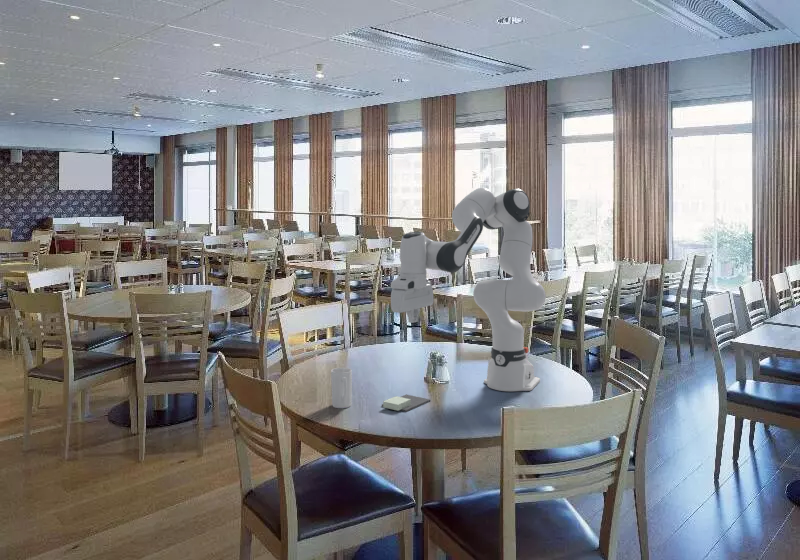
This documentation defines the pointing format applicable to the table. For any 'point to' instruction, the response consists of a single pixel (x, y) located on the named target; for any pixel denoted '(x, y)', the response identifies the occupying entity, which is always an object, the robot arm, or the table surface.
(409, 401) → the block
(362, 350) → the table surface
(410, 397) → the mat
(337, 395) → the mug
